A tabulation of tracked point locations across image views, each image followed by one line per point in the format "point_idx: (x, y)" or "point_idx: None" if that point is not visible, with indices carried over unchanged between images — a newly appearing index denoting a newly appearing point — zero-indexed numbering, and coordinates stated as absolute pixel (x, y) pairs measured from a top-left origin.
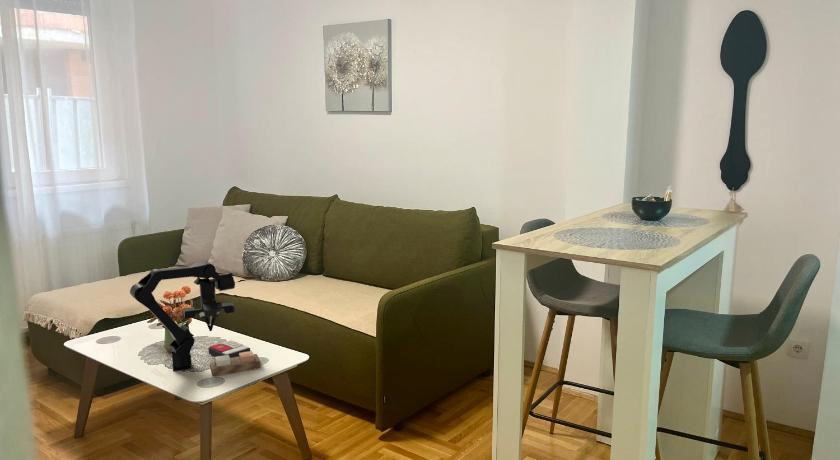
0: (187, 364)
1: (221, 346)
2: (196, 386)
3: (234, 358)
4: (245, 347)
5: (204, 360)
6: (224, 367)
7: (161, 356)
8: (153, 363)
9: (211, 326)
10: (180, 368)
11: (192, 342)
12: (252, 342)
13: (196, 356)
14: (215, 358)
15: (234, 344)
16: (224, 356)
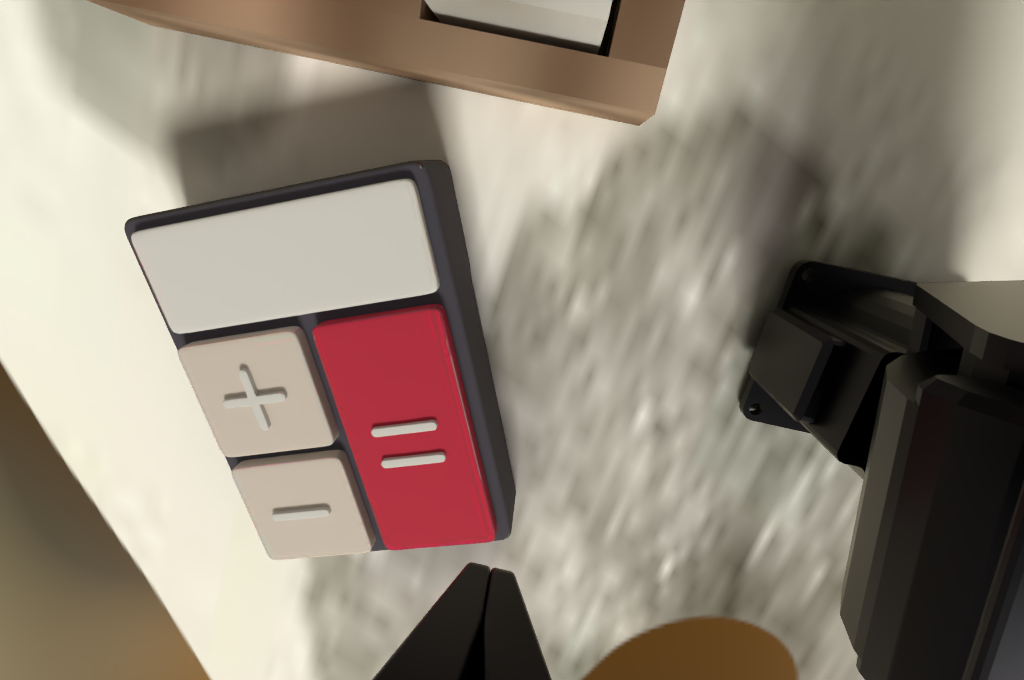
0: (826, 306)
1: (396, 457)
2: None
3: (355, 3)
4: (165, 252)
5: (602, 377)
6: None
7: (854, 669)
8: None
9: (453, 644)
10: (901, 289)
11: (999, 333)
12: (134, 501)
13: (624, 505)
14: None
15: (262, 413)
16: None
